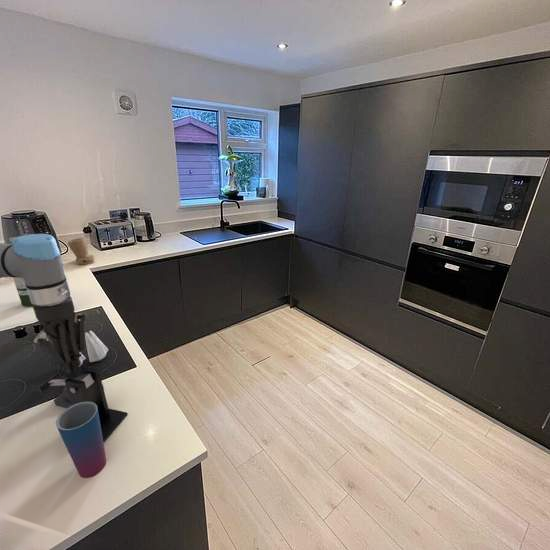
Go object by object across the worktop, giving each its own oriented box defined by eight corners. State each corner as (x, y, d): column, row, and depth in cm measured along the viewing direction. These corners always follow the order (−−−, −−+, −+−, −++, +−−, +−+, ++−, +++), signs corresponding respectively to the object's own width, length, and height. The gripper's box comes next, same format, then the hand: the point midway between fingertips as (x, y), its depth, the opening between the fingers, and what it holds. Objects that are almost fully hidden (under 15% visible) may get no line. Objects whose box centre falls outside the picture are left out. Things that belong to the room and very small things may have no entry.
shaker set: (109, 353, 97) (102, 325, 93) (109, 360, 94) (102, 331, 90) (66, 364, 92) (57, 334, 88) (65, 372, 88) (55, 341, 84)
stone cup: (73, 259, 185) (67, 237, 179) (94, 257, 190) (90, 235, 185) (71, 267, 172) (65, 242, 167) (94, 264, 178) (89, 240, 172)
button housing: (55, 406, 76) (51, 394, 75) (80, 385, 84) (77, 374, 82) (80, 412, 75) (77, 400, 73) (104, 390, 82) (101, 379, 80)
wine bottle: (21, 308, 124) (-2, 241, 113) (23, 301, 130) (1, 237, 119) (43, 304, 128) (24, 239, 117) (45, 297, 134) (26, 235, 123)
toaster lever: (39, 394, 67) (34, 386, 67) (58, 379, 72) (54, 372, 71) (81, 393, 64) (76, 384, 63) (99, 377, 68) (94, 369, 67)
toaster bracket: (61, 437, 68) (43, 384, 62) (91, 407, 76) (78, 358, 70) (101, 447, 66) (86, 393, 60) (128, 415, 74) (117, 366, 68)
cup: (85, 453, 64) (69, 401, 59) (116, 451, 65) (103, 400, 59) (66, 484, 58) (47, 430, 53) (101, 483, 59) (86, 429, 53)
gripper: (38, 315, 61) (65, 400, 70) (87, 290, 73) (106, 365, 82) (10, 310, 63) (40, 394, 71) (63, 287, 75) (84, 361, 83)
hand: (75, 379), depth 77 cm, fingers closed
